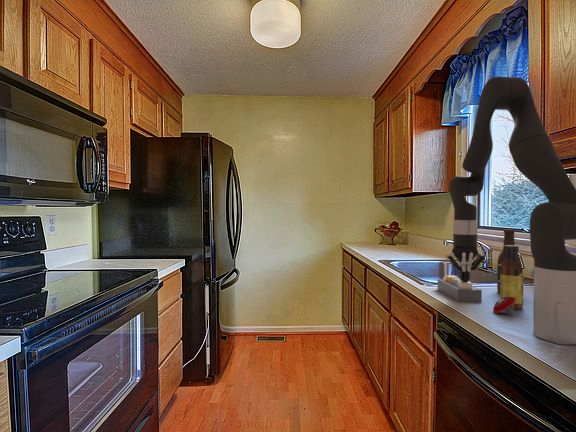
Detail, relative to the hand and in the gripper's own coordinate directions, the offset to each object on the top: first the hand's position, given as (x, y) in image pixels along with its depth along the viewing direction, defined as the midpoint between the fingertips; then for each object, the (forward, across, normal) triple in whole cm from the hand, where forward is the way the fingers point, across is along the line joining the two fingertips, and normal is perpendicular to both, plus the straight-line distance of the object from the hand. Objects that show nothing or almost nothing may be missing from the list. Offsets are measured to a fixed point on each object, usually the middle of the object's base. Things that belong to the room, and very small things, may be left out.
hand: (464, 281), depth 119 cm
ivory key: (+4, 0, 0) cm, 4 cm away
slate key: (+4, 0, +5) cm, 6 cm away
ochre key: (+4, 0, +10) cm, 11 cm away
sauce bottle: (+6, +10, -10) cm, 15 cm away
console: (+6, 0, +5) cm, 8 cm away
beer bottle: (+6, +20, +8) cm, 22 cm away
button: (+6, +4, -17) cm, 19 cm away
